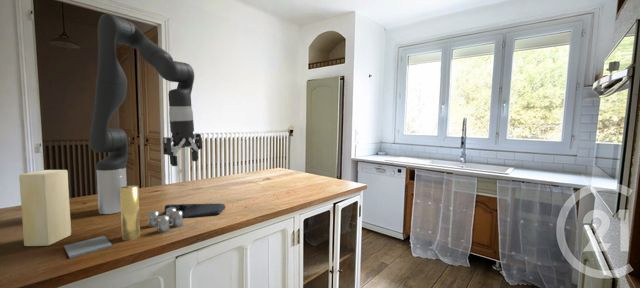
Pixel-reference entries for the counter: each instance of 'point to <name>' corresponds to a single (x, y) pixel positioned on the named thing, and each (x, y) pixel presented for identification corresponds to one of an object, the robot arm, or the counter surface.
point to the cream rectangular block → (45, 207)
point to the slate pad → (87, 246)
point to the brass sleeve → (130, 212)
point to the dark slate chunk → (197, 209)
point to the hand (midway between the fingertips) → (185, 163)
